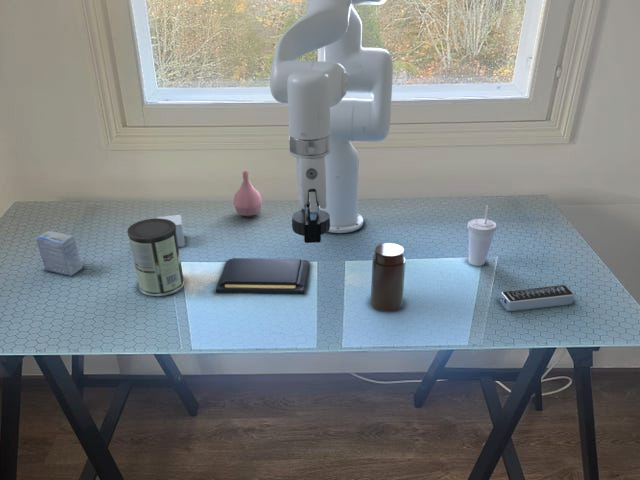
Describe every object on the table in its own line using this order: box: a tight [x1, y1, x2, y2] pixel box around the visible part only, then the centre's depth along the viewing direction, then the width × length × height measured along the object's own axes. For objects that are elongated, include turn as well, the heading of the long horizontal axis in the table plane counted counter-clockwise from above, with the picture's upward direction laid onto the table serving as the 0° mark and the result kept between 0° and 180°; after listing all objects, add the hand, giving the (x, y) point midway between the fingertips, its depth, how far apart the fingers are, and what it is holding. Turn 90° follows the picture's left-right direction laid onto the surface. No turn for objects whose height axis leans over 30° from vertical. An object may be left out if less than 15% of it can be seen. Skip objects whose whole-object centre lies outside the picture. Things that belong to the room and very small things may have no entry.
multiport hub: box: [499, 284, 575, 312], centre depth 136 cm, size 4×14×2 cm, turn 100°
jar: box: [370, 242, 407, 313], centre depth 134 cm, size 7×7×13 cm
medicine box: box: [35, 230, 83, 277], centre depth 151 cm, size 8×4×9 cm, turn 65°
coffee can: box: [126, 217, 185, 297], centre depth 142 cm, size 10×10×14 cm
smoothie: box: [467, 205, 498, 267], centre depth 148 cm, size 6×6×14 cm
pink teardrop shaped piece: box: [233, 170, 263, 218], centre depth 174 cm, size 8×8×12 cm
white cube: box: [156, 214, 186, 248], centre depth 163 cm, size 6×6×6 cm
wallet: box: [215, 257, 310, 295], centre depth 148 cm, size 20×2×15 cm
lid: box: [291, 209, 330, 237], centre depth 127 cm, size 7×7×3 cm
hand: (311, 232), depth 129 cm, fingers closed on lid, 7 cm apart
